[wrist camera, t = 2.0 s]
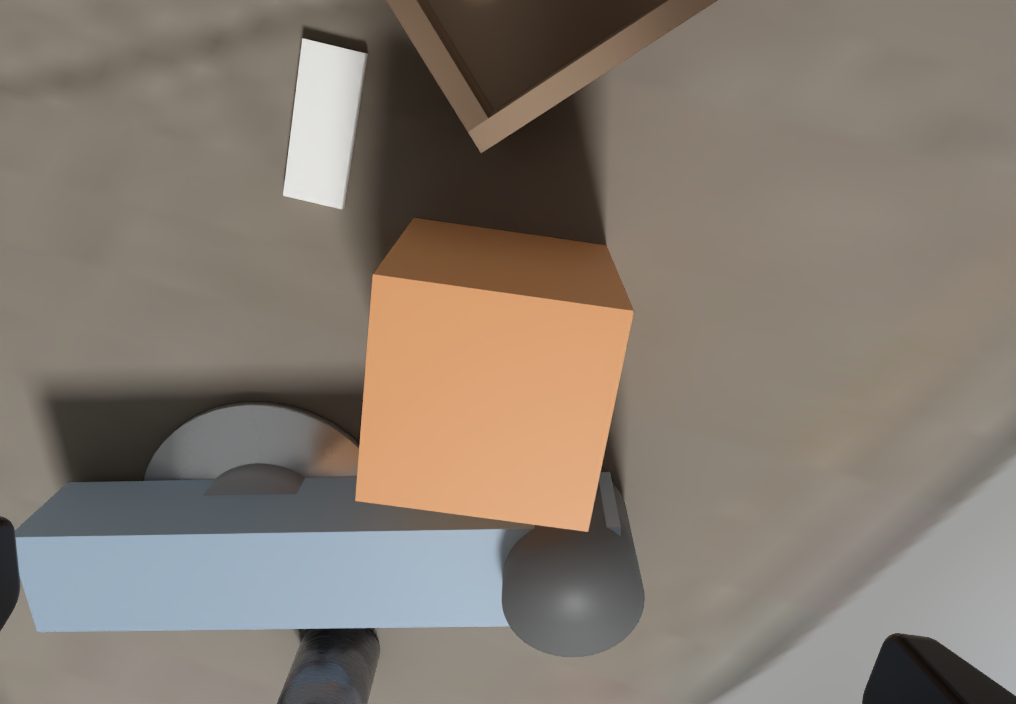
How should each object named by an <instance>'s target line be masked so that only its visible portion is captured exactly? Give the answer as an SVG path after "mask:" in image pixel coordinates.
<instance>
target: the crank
mask: <svg viewBox="0 0 1016 704" xmlns="http://www.w3.org/2000/svg"><path fill="white" fill-rule="evenodd" d="M356 483H357V477H322V478H305V477H303V476H302V475H300V474H298V473H296V472H294V471H292V470H290V469H287V468H285V467H281V466H277V465H272V464H263V463H255V464H246V465H241V466H237V467H235V468H232V469H230V470H228V471H226V472H224V473H222V474H221V475H219V476H218V477H217V478H216V479H215V480H168V481H117V482H68V483H67V484H66V485H65V486H64V487H62V488H61V489H60V490H59V491H58V492H57V493H56V494H55V495H54V496H53V497H51V498H50V499H49V500H48V501H47V502H46V503H45V504H44V505H43V506H42V507H41V508H39V509H38V510H37V511H36V512H35V513H34V514H33V515H32V516H31V517H30V518H28V519H27V520H26V521H25V522H24V523H23V524H22V525H21V526H20V527H19V528H18V529H16V530H15V538H16V547H17V557H18V566H19V575H20V578H21V582H22V585H23V588H24V591H25V594H26V598H27V601H28V604H29V607H30V610H31V614H32V617H33V620H34V623H35V626H36V630H37V632H82V631H164V630H246V629H328V628H410V627H491V626H510V627H511V629H512V630H513V631H514V633H515V634H516V635H517V636H518V637H519V638H520V639H522V640H523V641H524V642H525V643H527V644H528V645H530V646H531V647H533V648H535V649H537V650H539V651H542V652H545V653H547V654H551V655H555V656H562V657H583V656H589V655H594V654H597V653H600V652H603V651H605V650H608V649H610V648H612V647H613V646H615V645H617V644H618V643H620V642H621V641H623V640H624V639H625V638H626V637H627V636H628V635H629V634H630V633H631V632H632V630H633V629H634V628H635V626H636V625H637V623H638V622H639V619H640V617H641V615H642V611H643V608H644V600H645V599H644V589H643V584H642V579H641V575H640V570H639V566H638V561H637V556H636V552H635V547H634V543H633V538H632V533H631V529H630V524H629V519H628V515H627V510H626V506H625V502H624V500H623V497H622V495H621V493H620V492H619V490H618V489H617V488H616V486H615V485H614V484H613V483H612V479H611V474H610V472H600V477H599V482H598V487H597V492H596V496H595V501H594V506H593V511H592V516H591V521H590V525H589V530H588V532H585V531H577V530H570V529H562V528H555V527H547V526H540V525H532V524H525V523H517V522H510V521H502V520H495V519H487V518H480V517H472V516H465V515H457V514H450V513H442V512H434V511H427V510H419V509H412V508H404V507H397V506H389V505H382V504H374V503H367V502H359V501H355V496H356Z"/></svg>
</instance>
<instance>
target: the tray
mask: <svg viewBox="0 0 1016 704" xmlns="http://www.w3.org/2000/svg"><path fill="white" fill-rule="evenodd" d="M386 1H387V3H388V4H389V6H390V7H391V9H392V11H393V12H394V14H395V16H396V17H397V19H398V20H399V22H400V24H401V25H402V27H403V28H404V30H405V32H406V33H407V35H408V36H409V38H410V40H411V41H412V43H413V45H414V46H415V48H416V49H417V51H418V53H419V54H420V56H421V57H422V59H423V61H424V62H425V64H426V65H427V67H428V69H429V70H430V72H431V73H432V75H433V77H434V78H435V80H436V82H437V83H438V85H439V86H440V88H441V90H442V91H443V93H444V94H445V96H446V98H447V99H448V101H449V102H450V104H451V106H452V107H453V109H454V111H455V112H456V114H457V115H458V117H459V119H460V120H461V122H462V123H463V125H464V127H465V128H466V130H467V131H468V133H469V135H470V136H471V138H472V139H473V141H474V143H475V144H476V146H477V148H478V149H479V151H480V152H481V153H482V152H484V151H485V150H487V149H489V148H490V147H492V146H493V145H495V144H496V143H498V142H499V141H501V140H502V139H504V138H506V137H507V136H509V135H510V134H512V133H513V132H515V131H516V130H518V129H519V128H521V127H523V126H524V125H526V124H527V123H529V122H530V121H532V120H533V119H535V118H536V117H538V116H540V115H541V114H543V113H544V112H546V111H547V110H549V109H550V108H552V107H553V106H555V105H557V104H558V103H560V102H561V101H563V100H564V99H566V98H567V97H569V96H570V95H572V94H574V93H575V92H577V91H578V90H580V89H581V88H583V87H584V86H586V85H587V84H589V83H591V82H592V81H594V80H595V79H597V78H598V77H600V76H601V75H603V74H604V73H606V72H608V71H609V70H611V69H612V68H614V67H615V66H617V65H618V64H620V63H621V62H623V61H625V60H626V59H628V58H629V57H631V56H632V55H634V54H635V53H637V52H638V51H640V50H642V49H643V48H645V47H646V46H648V45H649V44H651V43H652V42H654V41H655V40H657V39H659V38H660V37H662V36H663V35H665V34H666V33H668V32H669V31H671V30H672V29H674V28H676V27H677V26H679V25H680V24H682V23H683V22H685V21H686V20H688V19H689V18H691V17H693V16H694V15H696V14H697V13H699V12H700V11H702V10H703V9H705V8H706V7H708V6H710V5H711V4H713V3H714V2H716V1H717V0H386Z"/></svg>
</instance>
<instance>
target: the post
mask: <svg viewBox="0 0 1016 704" xmlns="http://www.w3.org/2000/svg"><path fill="white" fill-rule="evenodd" d="M379 655H380V647H379V643H378V640H377V638H376V636H375V635H374V633H373V632H372V631H371V630H370V629H369V628H328V629H307V630H306V632H305V634H304V636H303V639H302V641H301V644H300V646H299V649H298V651H297V654H296V656H295V659H294V662H293V664H292V667H291V669H290V672H289V674H288V677H287V679H286V682H285V684H284V687H283V690H282V692H281V695H280V697H279V700H278V702H277V704H367V703H368V699H369V695H370V691H371V687H372V683H373V679H374V675H375V671H376V667H377V663H378V659H379Z"/></svg>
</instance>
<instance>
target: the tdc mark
mask: <svg viewBox="0 0 1016 704" xmlns="http://www.w3.org/2000/svg"><path fill="white" fill-rule="evenodd" d="M367 55H368V54H367V53H363V52H359V51H354V50H350V49H346V48H342V47H338V46H334V45H330V44H326V43H321V42H317V41H313V40H309V39H305V38H302V46H301V54H300V62H299V70H298V78H297V86H296V94H295V103H294V111H293V119H292V127H291V135H290V143H289V151H288V159H287V168H286V176H285V184H284V192H283V196H287V197H291V198H295V199H300V200H304V201H308V202H313V203H317V204H321V205H326V206H330V207H334V208H339V209H343V208H344V206H345V199H346V193H347V186H348V180H349V173H350V167H351V160H352V153H353V147H354V140H355V134H356V127H357V121H358V114H359V108H360V101H361V94H362V88H363V81H364V75H365V68H366V62H367Z"/></svg>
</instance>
